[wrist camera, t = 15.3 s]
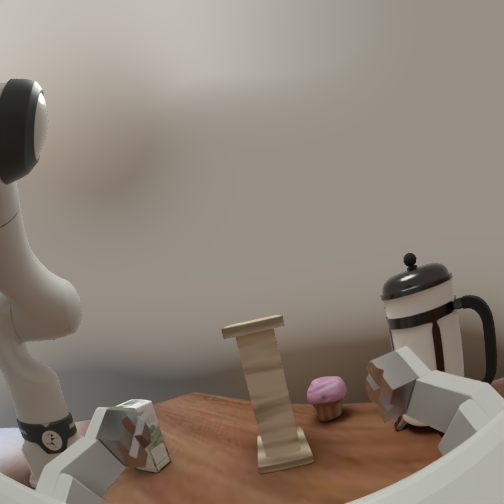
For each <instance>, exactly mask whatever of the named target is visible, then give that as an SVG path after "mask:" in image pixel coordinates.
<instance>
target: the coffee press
mask: <svg viewBox="0 0 504 504" xmlns="http://www.w3.org/2000/svg"><path fill="white" fill-rule="evenodd" d="M404 263H405V265H406V266H408V268H407V271H405V272H403V273H400V274H397V275H395V276H393V277H391V278H390V279H388V280H387V281H386V283H385V284H384V286H383V291H382V293H383V295H381V300H383V303H384V304H383V305H384V309H386V312H387V317H386V319H387V324H388V328H389V333H390V339H391V345H392V351H395V350H398V349H400V348H402V347H404V346H407V347H409V348H410V349H411V350H412V351H413V352H414V353H415V354H416V355H417V356H418V357H419V358H420V360H421V361H422V362H423V363H424V364H425V365H426V366H427V367H428V368H429V369H430V370H431V371H433V370H438V371H441V372H445V373H449V374H453V375H456V376H460V377H464V366H463V353H462V343H461V335H460V327H459V320H458V314H457V309H461V308H464V309H465V308H471V309H474V310H475V311H476V312H477V313H478V314H479V315H480V317H481V319H482V323H483V330H484V339H485V352H486V375H485V378H484V379H483V380H482V381H481V382H485V383H488V384H490V385H491V383H492V381H493V379H494V377H495V374H496V367H497V351H496V336H495V327H494V321H493V316H492V313H491V310H490V308H489V306H488V305H487V303H486V302H485V301H484V300H483V299H481V298H480V297H477V296H473V295H468V296H463V297H462V298H458V299H456V296H455V295H454V292H453V288H452V282H451V281H452V273H449V272H448V270H447V268H446V267H445V266H444V265H442V264H439V263H430V264H426V265H423V266H420V267H417V266H416V265H414V264H415V263H416V257H415V255H414V254H412V253H408V254H406V255H405V257H404ZM464 378H465V377H464ZM402 416H403V419H404V420H405V422H404V423H403V424H402V425H401V426H399V427H397V425H398V424H399V422H400V420H401V417H402ZM402 416H400V417H399V418H398V419H397V421H396V422H395V429H396V430H397V431H400V430H402V429H403V428H404V427H405V426H406V425H407V424H408V423H409V424H411V425H415V426H428V425H426V424H424V423H422V422H419V421H417V420H415V419H413V418H411V417H409V416H407V415H406V414H404V415H402ZM438 431H439V430H438ZM444 434H445V433H443V432H441V431H439V435H440V436H441V435H444Z"/></svg>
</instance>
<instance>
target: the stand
mask: <svg viewBox="0 0 504 504" xmlns="http://www.w3.org/2000/svg"><path fill="white" fill-rule="evenodd" d="M281 326H284V321H283V316H280V315H274V316H270V317H266V318H261V319H256V320H252V321H247V322H243V323H238V324H233V325H229V326H227V327H225V328H223V329H222V334H223V338H224V339H226V338H231V337H236V340H237V344H238V349H239V353H240V357H241V361H242V365H243V370H244V374H245V378H246V382H247V386H248V390H249V394H250V398H251V402H252V406H253V410H254V413H255V417H256V421H257V425H258V429H259V432H260V436H258V469H259V473H260V474H262V473H267V472H273V471H278V470H283V469H288V468H292V467H297V466H301V465H305V464H309V463H312V462H314V458H313V454H312V452H311V450H310V447H309V445H308V442H307V440H306V437H305V435H304V433H303V430H302V428H301V427H298V428H296V425H295V420H294V416H293V411H292V407H291V403H290V398H289V394H288V390H287V385H286V381H285V376H284V372H283V367H282V363H281V359H280V354H279V350H278V346H277V341H276V338H275V333H274V328H277V327H281Z"/></svg>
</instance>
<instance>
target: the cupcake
mask: <svg viewBox="0 0 504 504" xmlns="http://www.w3.org/2000/svg"><path fill="white" fill-rule="evenodd" d="M345 394H346V386H345V383H344V382H343V380H342V379H341V378H340V377H337V376H332V377H322V378H318V379H315V380H314V381H312V383H311V386H310V387H309V389H308V392H307V399H308V401H309V403H310V404H313V406H314V407H315V409H316V411H317V415H318V418H319V419H320V420H321V421H329V420H332V419H334V418H337V417H338V416H340V414H341V413H342V400H343V397H344V395H345Z"/></svg>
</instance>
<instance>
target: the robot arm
mask: <svg viewBox="0 0 504 504" xmlns="http://www.w3.org/2000/svg"><path fill="white" fill-rule="evenodd" d="M47 127H48V113H47V106H46V103H45V99H44V96H43V90H42V88H41V87H40V86H39V84H38V83H37V82H36V81H33V80H27V79H10V80H9V81H8V82H7V83H0V369H1V371H2V373H3V376H4V378H5V381H6V384H7V387H8V390H9V393H10V396H11V399H12V402H13V405H14V408H15V411H16V414H17V417H18V418H17V422H18V427H19V430H20V431H21V434H22V436H23V438H24V439H25V441H24V444H23V448H22V452H23V455H24V457H25V459H26V462H27V464H28V466H29V468H30V470H31V475H30V480H29V483H30V485H31V487H33V488H36V489H35V490H33V489H31V488H29V487H27V486H25V485H23V484H21V483H19V482H17V481H15V480H13V479H11V478H9V477H8V476H6V475H4V474H2V473H1V472H0V504H110V503H108V502H106V501H105V500H103V499H102V498H101V497H102V495H103V494H104V493H105V492H106V491H107V490H108V488H109V487H110V486H111V485H112V484H113V483H114V481H115V480H116V479H117V478H118V477H119V475H120V474H121V473H122V472H123V471H124V469H125V468H126V467H125V466H128V467H146V462H147V456H148V453H147V451H146V449H145V448H146V447H147V446H148V445H149V444H150V440H151V436H150V430H149V428H148V425H147V424H146V423H145V421H143V420H141V419H139V418H138V417H139V413H138V412H137V410H136V409H135V408H116V407H98V408H97V409H96V410H95V413H94V415H93V418H92V420H91V422H90V425H89V427H88V430H87V432H86V435H85V437H83V436H81V435H80V434H78V433H77V432H76V431H77V429H76V426H75V422H74V419H73V418H72V415H71V414H70V412H68V410H67V407H66V403H65V400H64V397H63V393H62V389H61V386H60V382H59V379H58V377H57V375H56V374H55V372H54V371H53V370H52V369H51V368H49V367H48V366H47V365H45V364H43V363H41V362H39V361H37V360H35V359H33V358H32V357H31V355H30V354H29V352H28V350H27V348H26V345H25V342H27V341H44V340H55V339H58V338H61V337H64V336H67V335H70V334H73V333H75V332H76V330H77V329H78V327H79V325H80V322H81V317H82V305H81V300H80V297H79V295H78V293H77V291H76V289H75V288H74V287H73V285H72V284H71V283H70V282H69V281H67V280H65V279H62V278H60V277H58V276H56V275H55V274H53V273H52V272H50V271H49V270H48V269H47V268H46V267H45V266H44V265H43V264H42V263H41V262H40V261H39V260H38V259H37V257H36V256H35V254H34V253H33V251H32V249H31V247H30V245H29V242H28V239H27V235H26V231H25V227H24V223H23V218H22V212H21V207H20V206H21V205H20V199H19V192H18V186H17V180H18V179H20V178H22V177H24V176H26V175H27V174H28V173H29V172H30V171H31V170H32V169H33V167H34V166H35V165H36V164H37V163H38V160H39V156H40V152H41V150H42V147H43V145H44V142H45V138H46V133H47ZM367 371H368V372H369V375H368V377H367V378H366V389H367V393H368V395H369V398H370V399H371V401H372V402H374V403H376V404H378V407H377V411H378V413H379V414H380V416H381V418H382V419H383V421H384V423H386V422H388V421H390V420H393V419H395V418H397V417H400V416H402V415H404V414H406V415H407V416H409V417H411V418H413V419H415V420H417V421H419V422H422V423H424V424H426V425H428V426H430V427H432V428H434V429H436V430H439V431H441V432H443V433H445V434H444V436H443V438H442V439H441V441H440V443H439V445H438V449H439V450H440V452H441V454H442V455H443V457H441V458H440V459H438V460H436V461H435V462H433V463H431V464H430V465H428V466H426V467H425V468H423V469H421V470H419V471H418V472H416V473H414V474H412V475H410V476H408V477H406V478H404V479H403V480H401V481H399V482H396V483H394V484H392V485H390V486H388V487H386V488H384V489H381V490H379V491H377V492H374V493H372V494H369V495H367V496H364V497H362V498H359V499H356V500H354V501H351V502H348V503H345V504H504V399H503V398H502V397H501V396H500V395H499V394H498V392H497V391H496V390H495V389H494V388H493V387H492V386H491V385H490V384H488V383H485V382H481V381H476V380H472V379H468V378H464V377H460V376H456V375H453V374H449V373H445V372H441V371H438V370H433V371H431V370H430V369H429V368H428V367H427V366H426V365H425V364H424V363H423V362H422V361H421V360H420V358H419V357H418V356H417V355H416V354H415V353H414V352H413V351H412V350H411V349H410V348H409V347H407V346H404V347H402V348H400V349H398V350H395V351H393V352H390V353H388V354H386V355H383V356H381V357H378V358H376V359H373V360H371V361H369V362H368V364H367Z"/></svg>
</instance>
